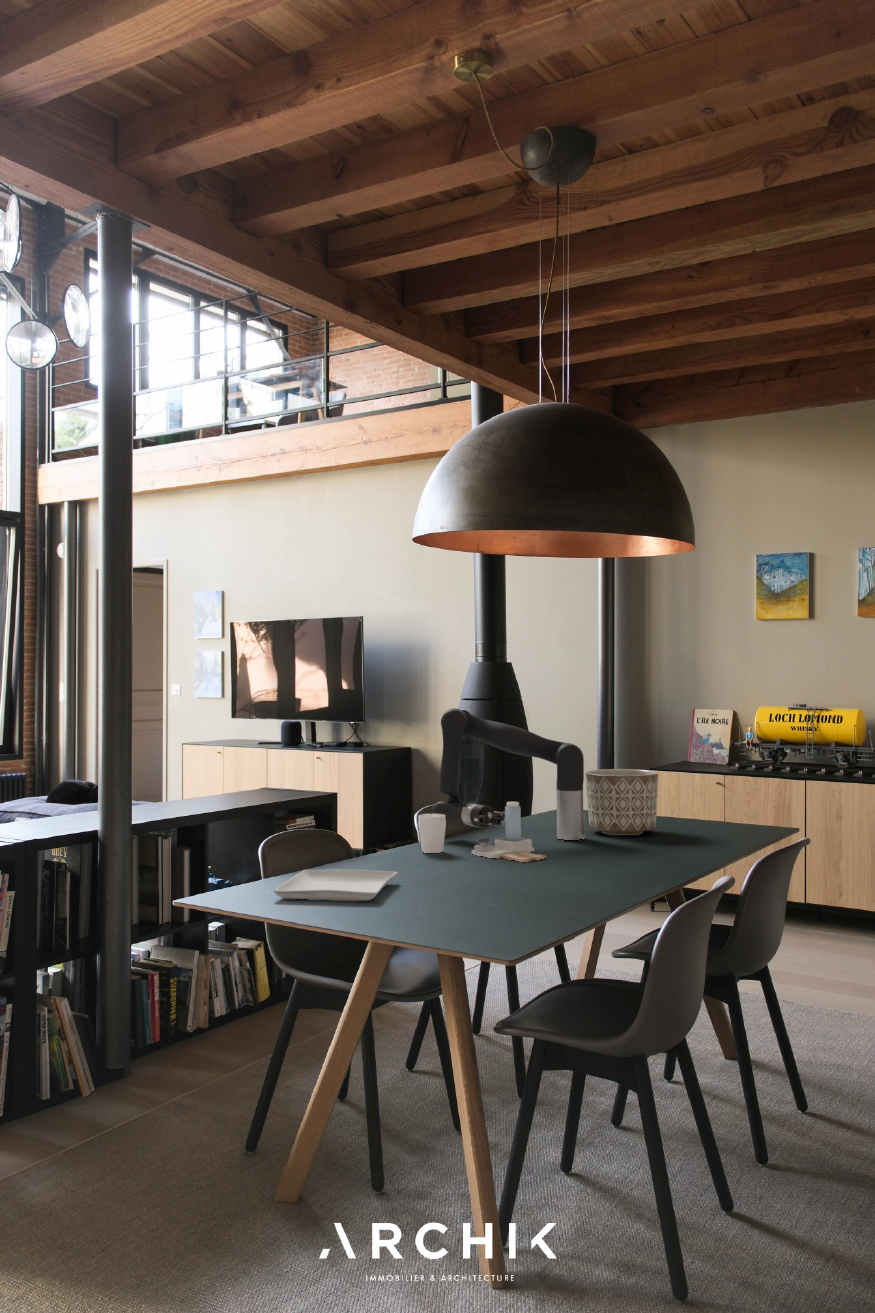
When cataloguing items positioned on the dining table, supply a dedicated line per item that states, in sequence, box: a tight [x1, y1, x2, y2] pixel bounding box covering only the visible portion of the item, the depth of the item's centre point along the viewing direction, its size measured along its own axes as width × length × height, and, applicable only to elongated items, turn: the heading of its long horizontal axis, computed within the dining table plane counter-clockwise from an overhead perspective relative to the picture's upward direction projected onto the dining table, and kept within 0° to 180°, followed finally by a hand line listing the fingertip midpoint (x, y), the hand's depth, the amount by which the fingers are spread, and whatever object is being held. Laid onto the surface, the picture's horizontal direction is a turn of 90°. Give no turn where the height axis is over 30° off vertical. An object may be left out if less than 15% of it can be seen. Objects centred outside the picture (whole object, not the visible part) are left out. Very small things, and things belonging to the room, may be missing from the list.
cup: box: [417, 813, 447, 854], centre depth 321 cm, size 9×9×12 cm
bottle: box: [504, 801, 522, 842], centre depth 320 cm, size 5×5×14 cm
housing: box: [471, 837, 535, 859], centre depth 317 cm, size 18×10×4 cm, turn 129°
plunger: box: [477, 836, 490, 847], centre depth 315 cm, size 3×3×4 cm
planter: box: [584, 768, 659, 834], centre depth 357 cm, size 26×26×22 cm
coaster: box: [500, 852, 547, 863], centre depth 308 cm, size 10×10×1 cm
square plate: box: [273, 868, 398, 902], centre depth 262 cm, size 27×27×4 cm
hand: (510, 820), depth 321 cm, fingers open, 8 cm apart
